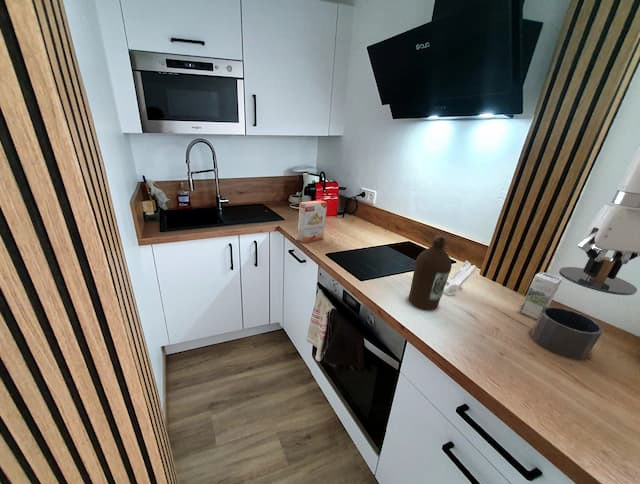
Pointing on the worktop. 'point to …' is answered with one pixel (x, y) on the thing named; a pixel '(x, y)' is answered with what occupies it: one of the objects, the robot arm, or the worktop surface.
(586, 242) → the robot arm
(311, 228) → the cracker box
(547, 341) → the tin
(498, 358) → the worktop surface
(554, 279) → the syrup box
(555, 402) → the worktop surface
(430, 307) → the brown bottle
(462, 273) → the plastic part
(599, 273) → the tin lid
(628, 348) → the worktop surface
